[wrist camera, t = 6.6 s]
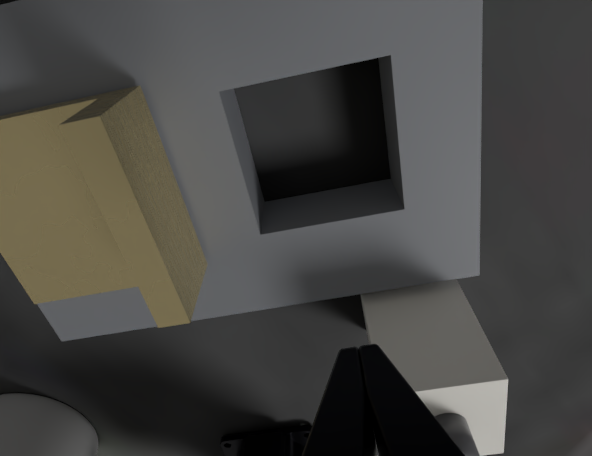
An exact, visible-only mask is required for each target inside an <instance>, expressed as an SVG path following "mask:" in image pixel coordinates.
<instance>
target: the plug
mask: <svg viewBox="0 0 592 456" xmlns="http://www.w3.org/2000/svg"><path fill="white" fill-rule="evenodd" d="M360 296H361V302H362V308H363V314H364V320H365V326H366V331H367V336H368V341H369V344H377V345H378V346H379V347H380V348H381V349H382V350H383V352H384V353H385V354H386V355H387V357H388V358H389V359H390V361H391V362H392V363H393V364H394V366H395V367H396V368H397V370H398V371H399V372H400V373H401V375H402V376H403V377H404V378H405V380H406V381H407V382H408V384H409V385H410V386H411V387H412V389H413V390H414V391H415V392H416V394H417V395H418V396H419V398H420V399H421V400H422V401H423V403H424V404H425V405H426V406H427V408H428V409H429V410H430V412H431V413H432V414H433V415H434V417H435V418H436V419H437V420H438V422H439V423H440V424H441V426H442V427H443V428H444V429H445V431H446V432H447V433H448V435H449V436H450V437H451V438H452V440H453V441H454V442H455V443H456V445H457V446H458V447H459V449H460V450H461V451H462V452H463V454H464V455H465V456H482V455H490V454H499V453H504V439H505V423H506V407H507V390H508V378H507V376H506V374H505V372H504V370H503V368H502V366H501V364H500V362H499V360H498V359H497V357H496V355H495V353H494V351H493V349H492V347H491V345H490V343H489V341H488V339H487V337H486V335H485V333H484V332H483V330H482V328H481V326H480V324H479V322H478V320H477V318H476V316H475V314H474V312H473V310H472V308H471V306H470V305H469V303H468V301H467V299H466V297H465V295H464V293H463V291H462V289H461V287H460V285H459V283H458V281H457V279H453V280H446V281H440V282H434V283H428V284H421V285H415V286H409V287H402V288H396V289H390V290H383V291H377V292H371V293H365V294H360Z"/></svg>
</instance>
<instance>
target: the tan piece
mask: <svg viewBox="0 0 592 456" xmlns="http://www.w3.org/2000/svg"><path fill="white" fill-rule="evenodd" d="M0 253H1V254H2V256H3V257H4V259H5V260H6V262H7V263H8V265H9V266H10V268H11V269H12V271H13V272H14V274H15V275H16V277H17V278H18V280H19V282H20V283H21V285H22V286H23V288H24V289H25V291H26V292H27V294H28V295H29V297H30V298H31V300H32V301H33V303H34V304H39V303H45V302H51V301H56V300H62V299H68V298H74V297H80V296H86V295H92V294H98V293H104V292H110V291H115V290H121V289H127V288H133V287H138V288H139V290H140V292H141V294H142V296H143V298H144V300H145V302H146V304H147V306H148V308H149V310H150V312H151V314H152V316H153V318H154V320H155V322H156V324H157V326H158V328H161V327H168V326H174V325H180V324H187V323H190V322H191V319H192V315H193V312H194V309H195V305H196V302H197V298H198V295H199V292H200V288H201V285H202V281H203V278H204V275H205V271H206V268H207V265H208V264H207V261H206V259H205V256H204V253H203V251H202V248H201V245H200V243H199V240H198V237H197V235H196V232H195V229H194V227H193V224H192V221H191V219H190V216H189V213H188V211H187V208H186V206H185V203H184V200H183V198H182V195H181V192H180V190H179V187H178V184H177V182H176V179H175V176H174V174H173V171H172V168H171V166H170V163H169V160H168V158H167V155H166V152H165V150H164V147H163V145H162V142H161V139H160V137H159V134H158V131H157V129H156V126H155V123H154V121H153V118H152V115H151V113H150V110H149V107H148V105H147V102H146V99H145V97H144V94H143V91H142V89H141V86H135V87H130V88H126V89H121V90H117V91H112V92H108V93H103V94H98V95H94V96H89V97H85V98H80V99H76V100H71V101H66V102H62V103H57V104H53V105H48V106H43V107H39V108H34V109H30V110H25V111H21V112H16V113H11V114H7V115H2V116H0Z"/></svg>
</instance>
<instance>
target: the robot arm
mask: <svg viewBox="0 0 592 456" xmlns="http://www.w3.org/2000/svg"><path fill="white" fill-rule="evenodd" d="M373 429H374V430H373ZM374 434H375V435H374ZM375 439H376V442H375ZM376 444H377V449H378V453H379V456H465V455H464V454H463V452H462V451H461V450H460V449H459V447H458V446H457V445H456V443H455V442H454V441H453V440H452V438H451V437H450V436H449V435H448V433H447V432H446V431H445V429H444V428H443V427H442V426H441V424H440V423H439V422H438V420H437V419H436V418H435V417H434V415H433V414H432V413H431V412H430V410H429V409H428V408H427V406H426V405H425V404H424V403H423V401H422V400H421V399H420V398H419V396H418V395H417V394H416V392H415V391H414V390H413V389H412V387H411V386H410V385H409V384H408V382H407V381H406V380H405V378H404V377H403V376H402V375H401V373H400V372H399V371H398V370H397V368H396V367H395V366H394V364H393V363H392V362H391V361H390V359H389V358H388V357H387V355H386V354H385V353H384V352H383V350H382V349H381V348H380V347H379V346H378V345H377V344H369V345H363V346H360V347H359V349H358V348H357V347H350V348H344V349H341V350H340V351H339V352H338V355H337V358H336V361H335V363H334V366H333V369H332V372H331V375H330V377H329V380H328V383H327V386H326V389H325V391H324V394H323V397H322V400H321V403H320V406H319V408H318V411H317V414H316V417H315V420H314V422H313V425H312V426H309V425H304V426H297V427H289V428H281V429H274V430H266V431H258V432H250V433H243V434H235V435H227V436H223V437H222V438H221V443H220V447H221V449H222V451H223V453H224V455H225V456H377V449H376Z"/></svg>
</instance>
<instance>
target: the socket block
mask: <svg viewBox="0 0 592 456" xmlns="http://www.w3.org/2000/svg"><path fill="white" fill-rule="evenodd" d="M482 15H483V0H18V1H14V2H10V3H6V4H2V5H0V116H2V115H7V114H11V113H16V112H21V111H25V110H30V109H34V108H39V107H43V106H48V105H53V104H57V103H62V102H66V101H71V100H76V99H80V98H85V97H89V96H94V95H98V94H103V93H108V92H112V91H117V90H121V89H126V88H130V87H135V86H141V89H142V91H143V94H144V97H145V99H146V102H147V105H148V107H149V110H150V113H151V115H152V118H153V121H154V123H155V126H156V129H157V131H158V134H159V137H160V139H161V142H162V145H163V147H164V150H165V152H166V155H167V158H168V160H169V163H170V166H171V168H172V171H173V174H174V176H175V179H176V182H177V184H178V187H179V190H180V192H181V195H182V198H183V200H184V203H185V206H186V208H187V211H188V213H189V216H190V219H191V221H192V224H193V227H194V229H195V232H196V235H197V237H198V240H199V243H200V245H201V248H202V251H203V253H204V256H205V259H206V261H207V264H208V265H207V268H206V271H205V275H204V278H203V281H202V285H201V288H200V292H199V295H198V298H197V302H196V305H195V309H194V312H193V315H192V319H191V321H195V320H201V319H207V318H213V317H220V316H226V315H232V314H239V313H245V312H251V311H258V310H264V309H270V308H276V307H283V306H289V305H295V304H302V303H308V302H314V301H321V300H327V299H333V298H339V297H346V296H352V295H358V294H365V293H371V292H377V291H383V290H390V289H396V288H402V287H409V286H415V285H421V284H428V283H434V282H440V281H446V280H453V279H459V278H465V277H472V276H478V275H480V189H481V102H482ZM374 58H378V61H379V70H380V80H381V90H382V99H383V109H384V119H385V128H386V138H387V148H388V158H389V167H390V177H391V179H386V180H380V181H375V182H370V183H364V184H359V185H353V186H348V187H342V188H337V189H332V190H326V191H321V192H315V193H310V194H304V195H299V196H294V197H288V198H283V199H277V200H272V201H266V202H265V201H264V197H263V194H262V190H261V186H260V183H259V179H258V175H257V172H256V168H255V164H254V161H253V157H252V153H251V150H250V146H249V142H248V139H247V135H246V131H245V127H244V124H243V120H242V116H241V113H240V109H239V105H238V102H237V98H236V94H235V91H234V88H238V87H243V86H248V85H252V84H257V83H262V82H266V81H271V80H276V79H281V78H285V77H290V76H295V75H299V74H304V73H309V72H313V71H318V70H323V69H328V68H332V67H337V66H342V65H346V64H351V63H356V62H360V61H365V60H370V59H374ZM37 305H38V306H39V308H40V309H41V311H42V312H43V314H44V315H45V317H46V318H47V320H48V321H49V323H50V324H51V326H52V328H53V329H54V331H55V332H56V334H57V335H58V337H59V338H60V340H61V341H69V340H75V339H81V338H87V337H94V336H100V335H106V334H113V333H119V332H125V331H132V330H138V329H144V328H150V327H157V324H156V322H155V320H154V318H153V316H152V314H151V312H150V310H149V308H148V306H147V304H146V302H145V300H144V298H143V296H142V294H141V292H140V290H139V288H138V287H133V288H127V289H121V290H115V291H110V292H104V293H98V294H92V295H86V296H80V297H74V298H68V299H62V300H56V301H51V302H45V303H39V304H37Z"/></svg>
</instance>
